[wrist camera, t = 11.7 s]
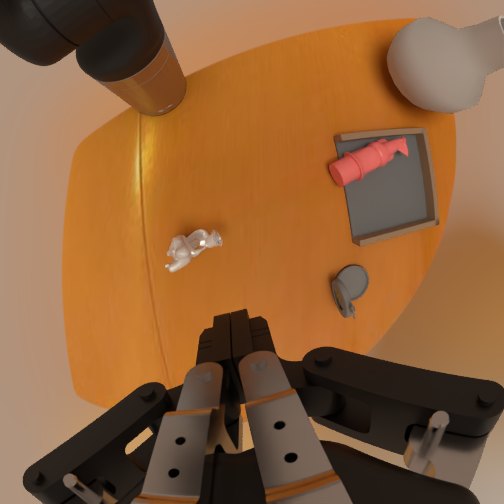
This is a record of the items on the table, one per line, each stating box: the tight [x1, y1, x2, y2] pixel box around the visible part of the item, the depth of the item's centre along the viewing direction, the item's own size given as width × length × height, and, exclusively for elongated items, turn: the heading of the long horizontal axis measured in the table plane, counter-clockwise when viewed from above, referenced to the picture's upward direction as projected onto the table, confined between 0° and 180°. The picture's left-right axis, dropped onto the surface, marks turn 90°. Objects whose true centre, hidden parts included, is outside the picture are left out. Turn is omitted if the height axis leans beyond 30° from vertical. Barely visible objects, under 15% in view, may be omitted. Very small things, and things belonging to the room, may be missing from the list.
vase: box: [387, 16, 504, 114], centre depth 25 cm, size 17×16×28 cm
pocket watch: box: [332, 265, 369, 319], centre depth 43 cm, size 8×8×10 cm
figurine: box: [165, 229, 223, 272], centre depth 38 cm, size 5×9×12 cm, turn 125°
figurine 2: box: [329, 137, 408, 187], centre depth 40 cm, size 5×5×15 cm
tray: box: [334, 128, 439, 247], centre depth 42 cm, size 18×18×3 cm
